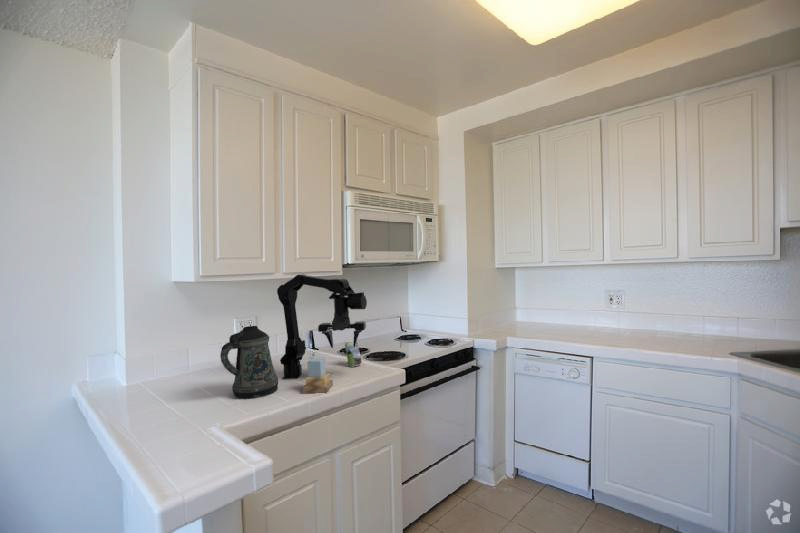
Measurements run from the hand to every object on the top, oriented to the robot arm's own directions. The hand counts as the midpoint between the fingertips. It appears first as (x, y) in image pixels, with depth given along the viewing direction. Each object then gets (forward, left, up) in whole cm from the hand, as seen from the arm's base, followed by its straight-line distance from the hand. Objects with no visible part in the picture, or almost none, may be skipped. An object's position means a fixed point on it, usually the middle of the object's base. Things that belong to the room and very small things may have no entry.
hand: (343, 347), depth 155 cm
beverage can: (0, +20, -13) cm, 24 cm away
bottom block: (-8, -12, -14) cm, 20 cm away
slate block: (-8, -12, -8) cm, 16 cm away
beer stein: (-32, -14, -13) cm, 37 cm away
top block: (-7, -12, -11) cm, 18 cm away
